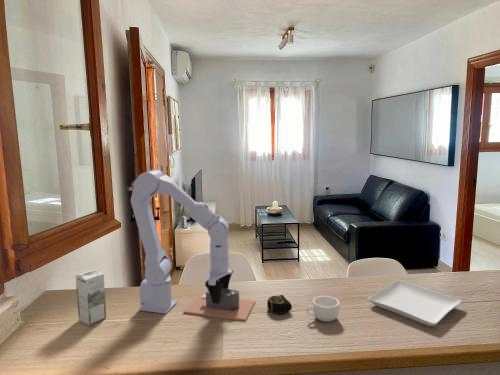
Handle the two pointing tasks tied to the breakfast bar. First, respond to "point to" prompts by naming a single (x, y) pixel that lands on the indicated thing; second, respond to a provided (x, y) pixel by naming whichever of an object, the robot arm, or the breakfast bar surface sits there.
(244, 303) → the rubber mat
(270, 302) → the tape measure
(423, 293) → the salad plate
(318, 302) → the teacup
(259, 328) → the breakfast bar surface
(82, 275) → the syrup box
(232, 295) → the grey round-top block
